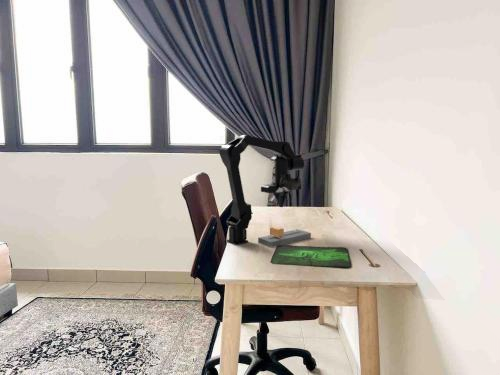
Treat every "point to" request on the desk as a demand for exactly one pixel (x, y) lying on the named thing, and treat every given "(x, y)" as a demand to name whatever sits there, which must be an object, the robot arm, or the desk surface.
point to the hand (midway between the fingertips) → (281, 207)
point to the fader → (276, 231)
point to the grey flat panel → (284, 238)
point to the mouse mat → (311, 256)
